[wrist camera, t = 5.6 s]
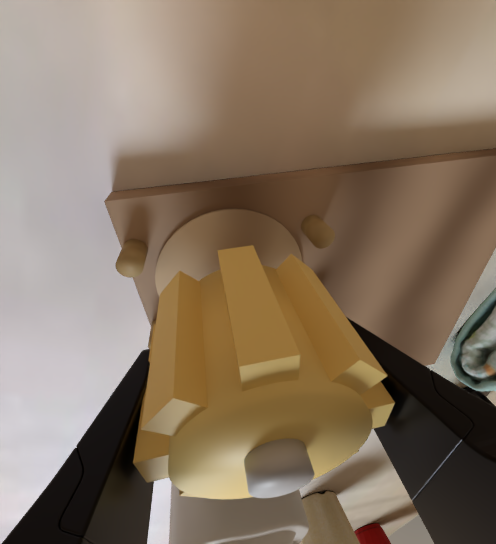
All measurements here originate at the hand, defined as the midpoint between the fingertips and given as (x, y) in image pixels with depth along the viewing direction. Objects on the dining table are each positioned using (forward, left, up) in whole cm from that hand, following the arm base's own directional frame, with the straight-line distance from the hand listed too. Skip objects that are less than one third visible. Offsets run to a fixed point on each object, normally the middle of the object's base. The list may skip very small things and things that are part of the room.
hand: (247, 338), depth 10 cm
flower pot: (-8, +42, -5) cm, 44 cm away
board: (-5, +3, -5) cm, 8 cm away
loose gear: (0, 0, -1) cm, 1 cm away
